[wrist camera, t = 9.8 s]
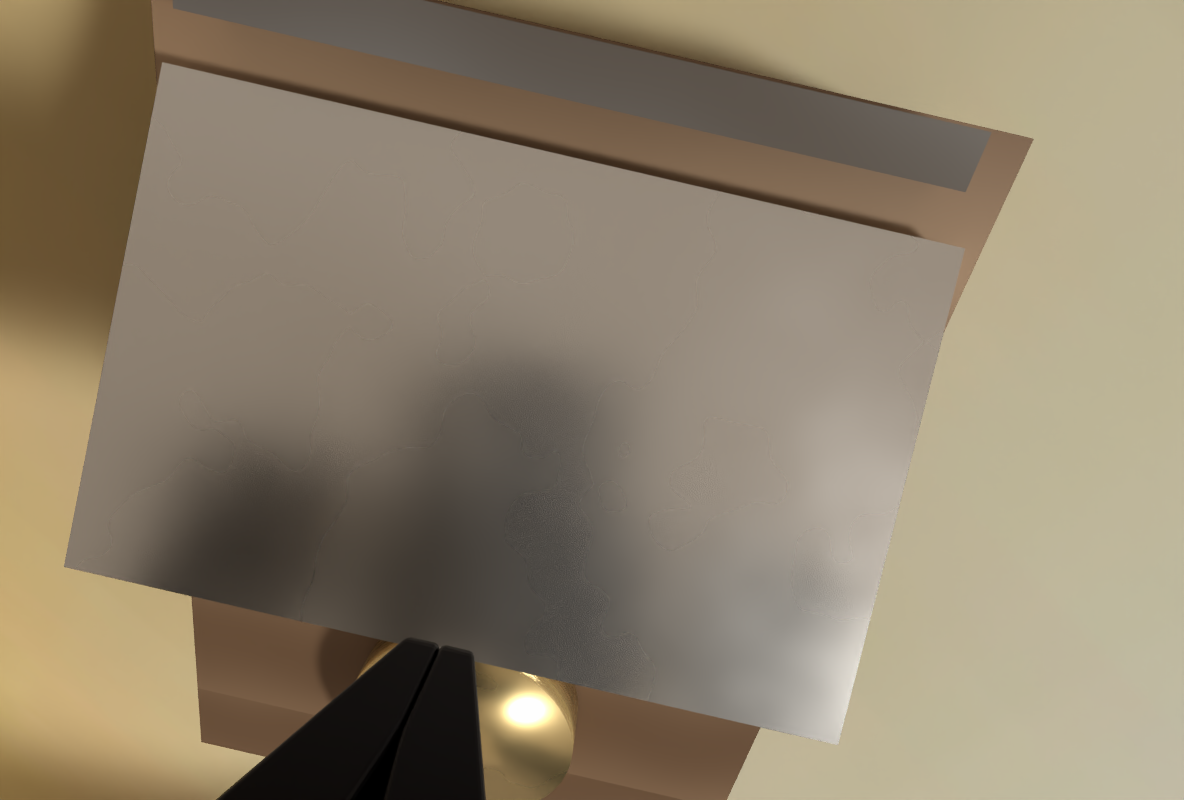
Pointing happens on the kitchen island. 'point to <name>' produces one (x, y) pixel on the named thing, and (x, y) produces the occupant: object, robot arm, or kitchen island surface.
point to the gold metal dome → (518, 729)
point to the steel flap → (507, 403)
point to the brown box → (602, 135)
